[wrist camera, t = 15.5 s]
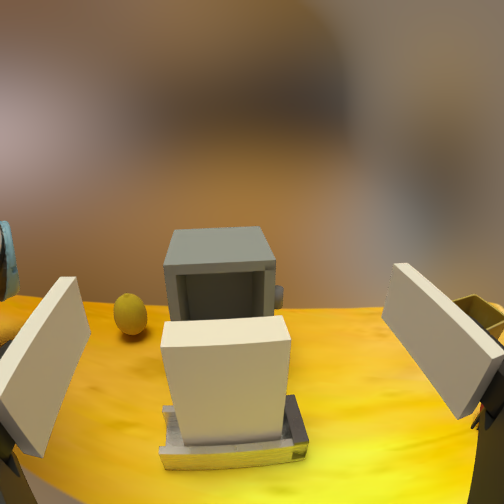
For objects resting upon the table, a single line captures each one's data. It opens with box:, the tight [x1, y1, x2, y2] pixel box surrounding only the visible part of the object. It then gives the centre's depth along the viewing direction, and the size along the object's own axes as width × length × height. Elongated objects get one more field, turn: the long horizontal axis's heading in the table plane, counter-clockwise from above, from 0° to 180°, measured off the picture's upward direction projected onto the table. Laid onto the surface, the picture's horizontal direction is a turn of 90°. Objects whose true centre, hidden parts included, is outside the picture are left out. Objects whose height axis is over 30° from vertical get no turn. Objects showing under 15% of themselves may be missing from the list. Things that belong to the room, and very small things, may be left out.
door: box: [160, 315, 291, 447], centre depth 28 cm, size 10×4×16 cm, turn 97°
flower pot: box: [452, 294, 504, 340], centre depth 41 cm, size 9×9×9 cm
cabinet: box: [163, 226, 283, 321], centre depth 43 cm, size 13×12×18 cm
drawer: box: [159, 395, 309, 470], centre depth 31 cm, size 15×7×4 cm, turn 97°
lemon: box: [114, 293, 147, 336], centre depth 49 cm, size 6×6×8 cm
